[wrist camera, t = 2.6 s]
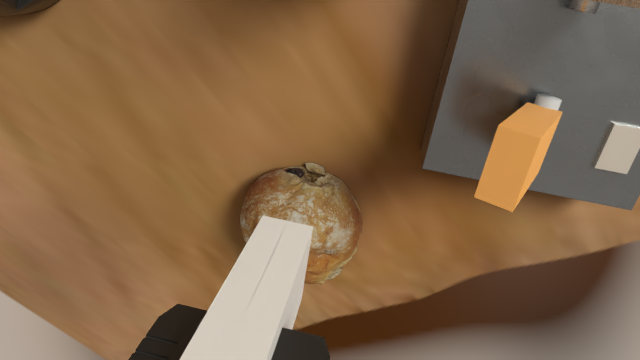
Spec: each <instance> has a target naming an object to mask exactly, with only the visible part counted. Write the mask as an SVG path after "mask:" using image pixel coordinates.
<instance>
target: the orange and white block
mask: <svg viewBox="0 0 640 360" xmlns="http://www.w3.org/2000/svg"><path fill="white" fill-rule="evenodd" d="M561 102H562V100H561V99H559V98H557V97H554V96H550V95H545V94H537V96H536V99H535V102H534V104H532V103H529V102H527V103H526V104H525V105H524V106H522V107H521V108H520V109H518V110H517V111H516V112H515V113H513V114H512V115H511V116H510V117H508V118H507V119H506V120H504V121H503V122H502V123H501V124H499V125H498V128H497V130H496V133H495V136H494V139H493V142H492V145H491V148H490V151H489V154H488V157H487V160H486V163H485V166H484V169H483V172H482V175H481V178H480V181H479V184H478V187H477V190H476V193H475V195H474V197H475V198H477V199H480V200H482V201H485V202H488V203H490V204H493V205H495V206H498V207H501V208H503V209H506V210H508V211H511V212H513V211H514V209H515V208H516V206H517V205H518V203H519V202H520V200H521V198H522V197H523V195H524V194H525V192H526V191H527V189H528V188H529V186H530V185H531V183H532V182H533V180H534V179H535V177H536V176H537V174H538V173H539V170H540V168H541V165H542V163H543V160H544V158H545V155H546V153H547V150H548V148H549V145H550V143H551V140H552V138H553V135H554V133H555V130H556V128H557V125H558V123H559V120H560V118H561V115H562V112H561V111H558V109H559V107H560V104H561Z"/></svg>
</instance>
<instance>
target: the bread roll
mask: <svg viewBox="0 0 640 360" xmlns="http://www.w3.org/2000/svg"><path fill="white" fill-rule="evenodd" d="M262 216H268V217H272V218H277V219H281V220H286V221H291V222H295V223H300V224H305V225H309V226H313V232H312V238H311V244H310V250H309V256H308V262H307V268H306V274H305V281H304V283H307V284H323V283H324V281H325V280H327V279H332V278H334V277H335V276H337V275H339V274H340V272H341V270H342V269H343V268H341V267H342V266H343V265H345V264H346V263H347V262H348V261H349V260H350V259H351V258H352V257H353V256H352V255H353V254H354V253H355V252H356V251H357V248H358V240H359V236H360V235H361V233H362V212H361V210H360V208H359V206H358V204H357V202H356V199H355V198H354V197H353V196H352V194H351V193H350V191H349V189H348V188H347V186H346V185H345V184H344V183H343V182H342V181H341V180H340V179H339V178H337V177H335V176H333V175H331V174H329V173H326V172H325V169H324V168H323V166H321V165H318V164H315V163H305V166H303V167H300V166H295V167H285V168H282V169H275V170H272V171H270V172H267V173H265V174H263V175H261V176H260V177H259V178H258V179H257V180H256V181H255V182H254V183H253V184H252V185H251V187H250V188H249V190H248V191H247V193H246V195H245V198H244V201H243V205H242V208H241V214H240V225H241V231H242V234H243V238H244V241H245V243H246V244H247V242H248V240H249V238H250V237H251V235H252V233H253V232H254V230H255V228H256V226H257V225H258V223H259V221H260V219H261V218H262Z"/></svg>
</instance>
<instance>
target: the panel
mask: <svg viewBox="0 0 640 360" xmlns="http://www.w3.org/2000/svg"><path fill="white" fill-rule="evenodd" d="M537 94H545V95H550V96H554V97H557V98H559V99H561V100H562V102H561V104H560V107H559V109H558V111H561V112H562V115H561V118H560V120H559V123H558V125H557V128H556V130H555V133H554V135H553V138H552V140H551V143H550V145H549V148H548V150H547V153H546V155H545V158H544V160H543V163H542V165H541V168H540V170H539V173H538V174H537V176H536V177H535V179H534V180H533V182H532V183H531V185H530V186H529V188H528V189H527V190H532V191H537V192H542V193H547V194H552V195H557V196H562V197H567V198H572V199H577V200H582V201H587V202H592V203H597V204H602V205H607V206H612V207H617V208H622V209H627V210H632V208H633V206H634V205H635V203H636V201H637V199H638V197H639V195H640V0H459V3H458V7H457V11H456V15H455V19H454V22H453V26H452V30H451V34H450V37H449V41H448V45H447V49H446V53H445V56H444V60H443V64H442V68H441V72H440V75H439V79H438V83H437V87H436V91H435V94H434V98H433V102H432V106H431V109H430V113H429V117H428V121H427V125H426V128H425V132H424V136H423V140H422V144H421V147H420V150H421V160H422V169H427V170H432V171H437V172H442V173H447V174H452V175H457V176H462V177H467V178H472V179H477V180H480V178H481V175H482V172H483V169H484V166H485V163H486V160H487V157H488V154H489V151H490V148H491V145H492V142H493V139H494V136H495V133H496V130H497V128H498V125H499V124H501V123H502V122H503V121H504V120H506V119H507V118H508V117H510V116H511V115H512V114H513V113H515V112H516V111H517V110H518V109H520V108H521V107H522V106H524V105H525V104H526V103H527V102H529V103H532V104H534V102H535V99H536V96H537Z"/></svg>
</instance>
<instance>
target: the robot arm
mask: <svg viewBox="0 0 640 360" xmlns="http://www.w3.org/2000/svg"><path fill="white" fill-rule="evenodd" d="M57 1H58V0H0V16H12V15H21V14H29V13H34V12H38V11H41V10H43V9H45V8H48V7H49V6H51V5H53V4H54V3H56V2H57ZM312 232H313V226H309V225H305V224H300V223H295V222H291V221H286V220H281V219H277V218H272V217H268V216H262V218H261V219H260V221H259V223H258V225H257V226H256V228H255V230H254V232H253V233H252V235H251V237H250V238H249V240H248V242H247V244H246V245H245V247H244V249H243V251H242V252H241V254H240V256H239V258H238V259H237V261H236V263H235V264H234V266H233V268H232V270H231V271H230V273H229V275H228V277H227V278H226V280H225V282H224V284H223V285H222V287H221V289H220V290H219V292H218V294H217V296H216V297H215V299H214V301H213V303H212V304H211V306H210V308H209V309H208V311H206V310H202V309H198V308H193V307H189V306H185V305H181V304H177V305H175V306H174V307H173V308H171V309H170V310H168V311H167V312H165V313H164V314H162V315H161V316H159V317H158V319H157V320H156V322H155V323H154V324H153V326H152V327H151V329H150V330H149V332H148V333H147V334H146V337H145V338H144V339H143V340H142V341H141V343H140V344H139V346H138V347H137V348H136V351H135V353H133V354H132V355H131V357H130V358H129V360H329V359H330V355H329V352H328V348H327V345H326V341H325V338H324V337H321V336H316V335H312V334H308V333H304V332H299V331H296V330H292V328H293V325H294V322H295V319H296V316H297V312H298V309H299V306H300V303H301V299H302V293H303V287H304V281H305V274H306V268H307V262H308V256H309V250H310V244H311V238H312Z"/></svg>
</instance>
